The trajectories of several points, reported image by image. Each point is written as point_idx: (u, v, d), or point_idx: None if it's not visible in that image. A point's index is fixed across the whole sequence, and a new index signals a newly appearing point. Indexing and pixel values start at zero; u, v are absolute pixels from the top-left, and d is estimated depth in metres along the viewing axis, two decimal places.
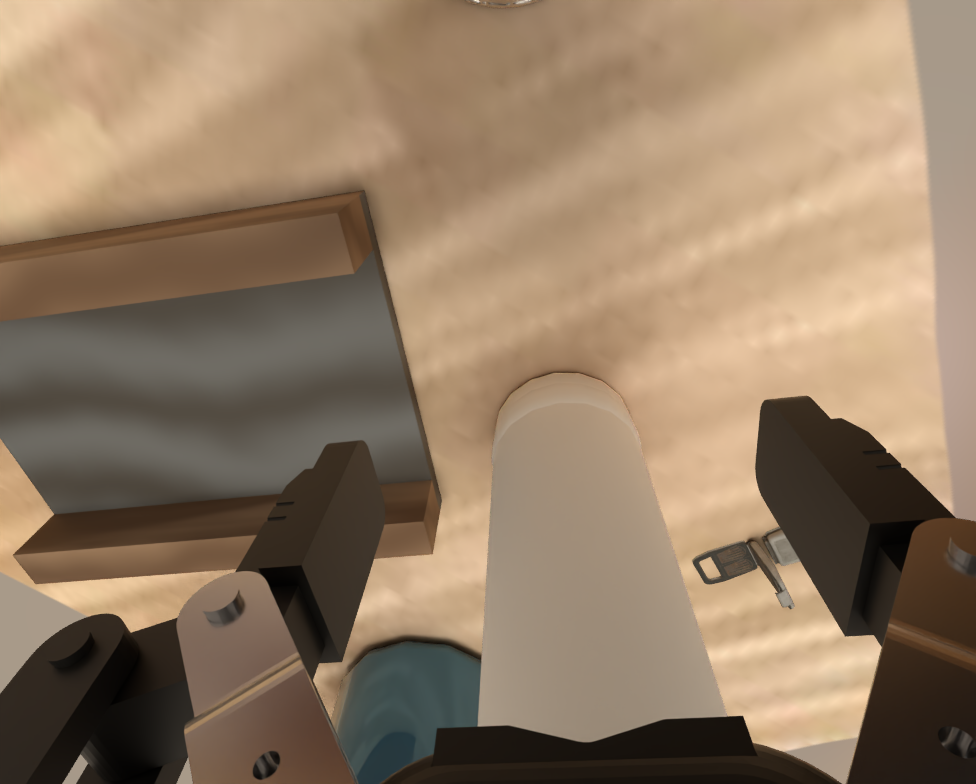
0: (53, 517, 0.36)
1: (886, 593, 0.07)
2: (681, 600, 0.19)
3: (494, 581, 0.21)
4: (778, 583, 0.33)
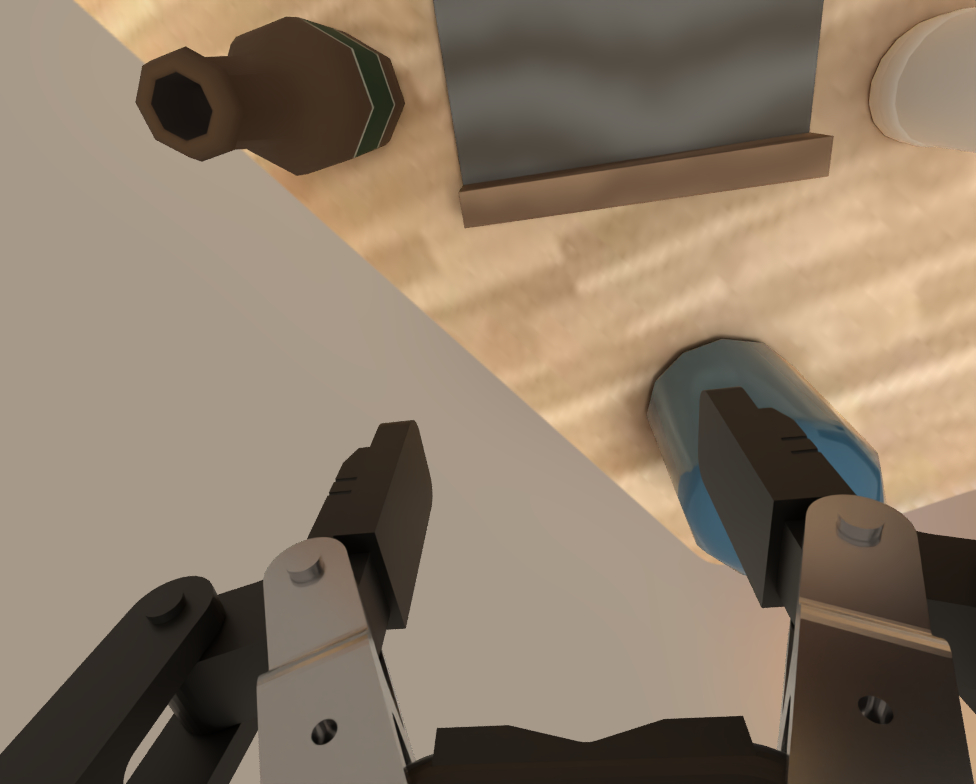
0: (465, 185, 0.42)
1: (790, 565, 0.08)
2: None
3: None
4: None
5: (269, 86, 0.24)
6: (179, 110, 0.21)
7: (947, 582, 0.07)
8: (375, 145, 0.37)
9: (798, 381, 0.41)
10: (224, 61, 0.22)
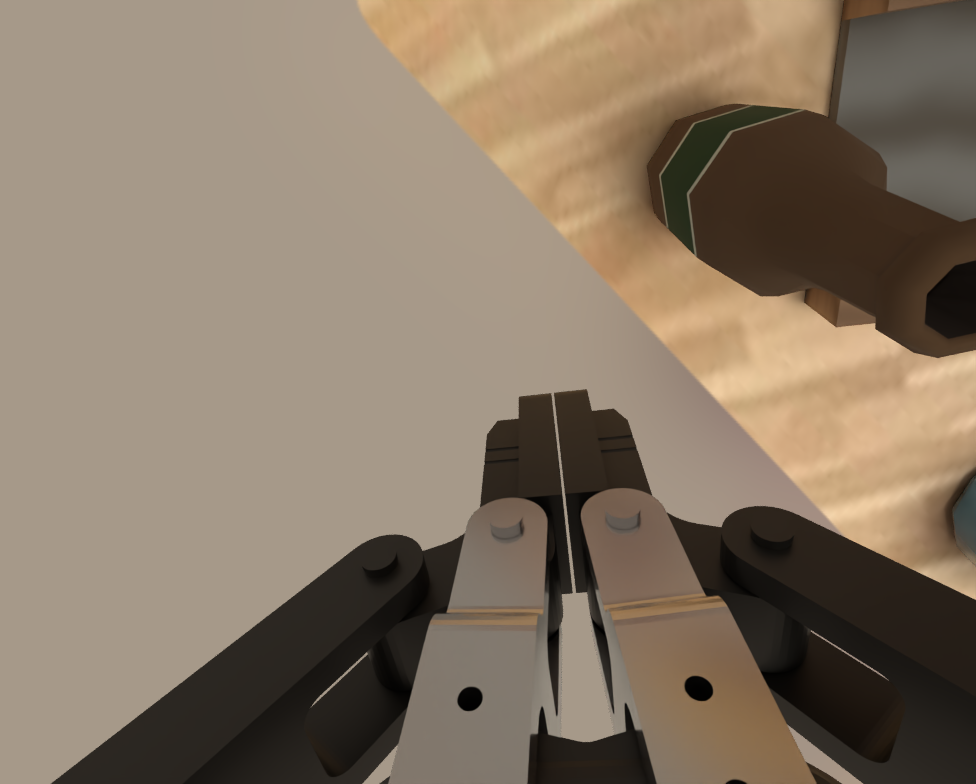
0: None
1: (582, 552, 0.09)
2: None
3: None
4: None
5: None
6: None
7: None
8: None
9: None
10: None
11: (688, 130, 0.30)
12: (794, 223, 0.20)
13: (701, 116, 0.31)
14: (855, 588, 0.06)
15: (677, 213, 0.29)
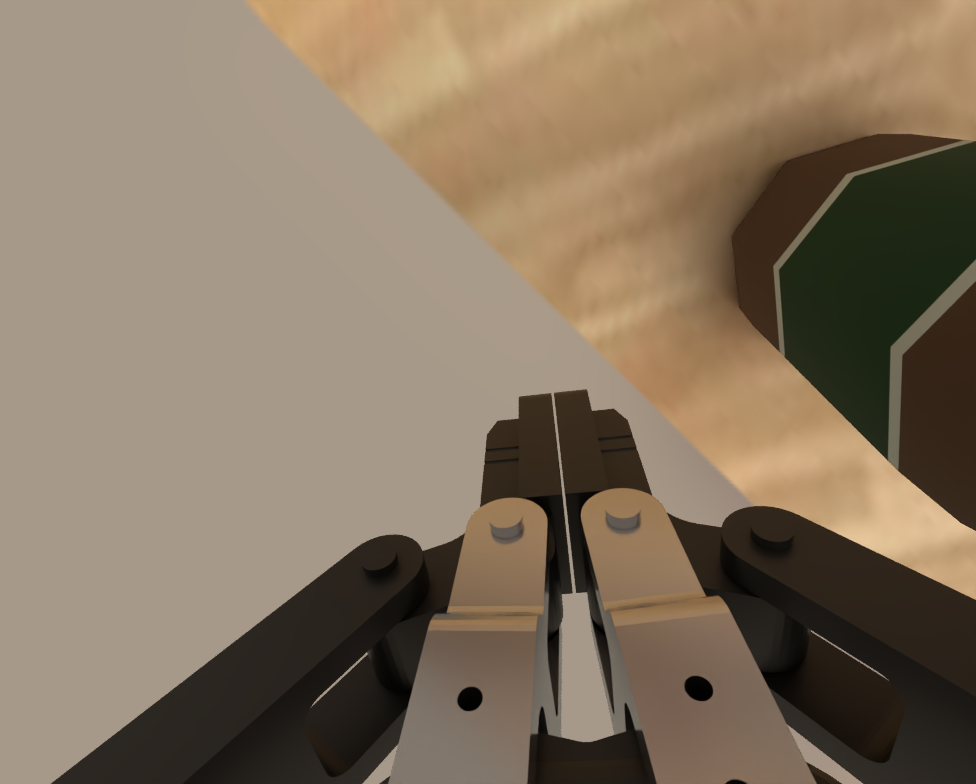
0: None
1: (582, 552, 0.09)
2: None
3: None
4: None
5: None
6: None
7: None
8: None
9: None
10: None
11: (837, 188, 0.16)
12: None
13: (850, 158, 0.17)
14: (855, 588, 0.06)
15: (830, 355, 0.15)
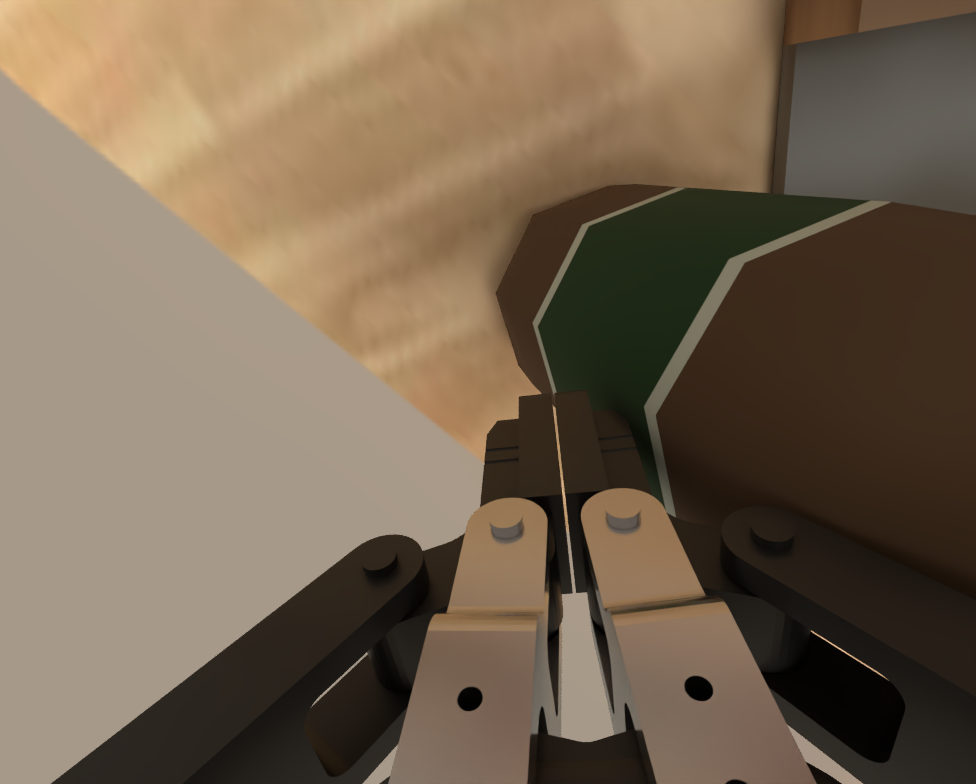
0: None
1: (582, 552, 0.09)
2: None
3: None
4: None
5: None
6: None
7: None
8: None
9: None
10: None
11: (576, 238, 0.15)
12: None
13: (586, 209, 0.17)
14: (855, 588, 0.06)
15: None
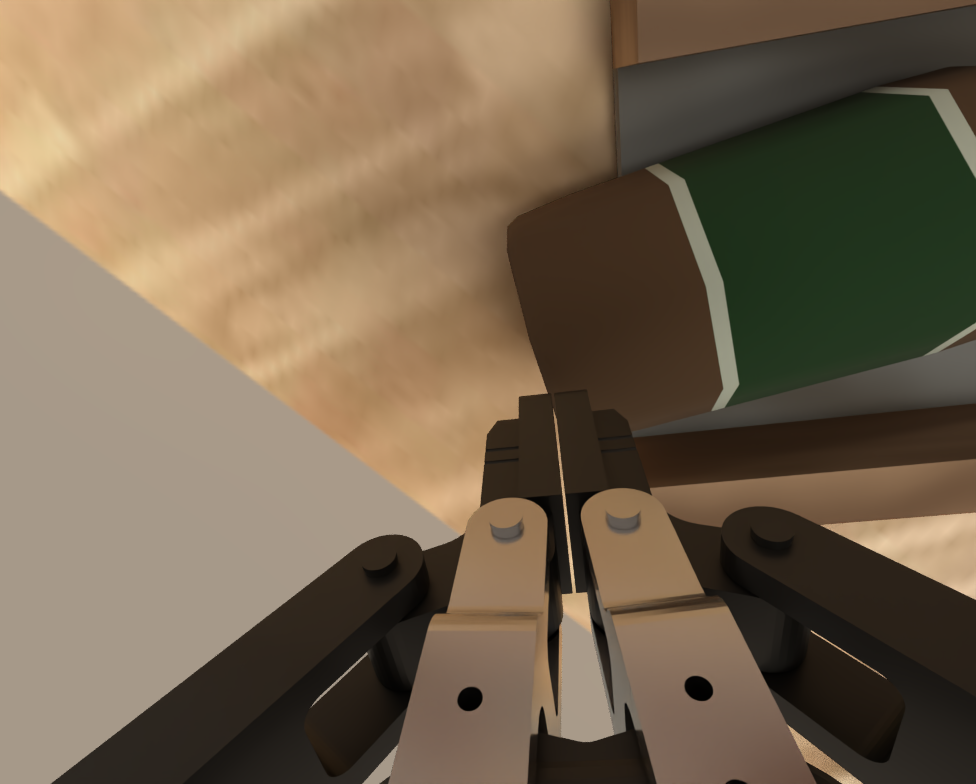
0: (637, 441, 0.24)
1: (582, 552, 0.09)
2: None
3: None
4: None
5: None
6: None
7: None
8: None
9: None
10: None
11: (676, 197, 0.14)
12: None
13: (605, 198, 0.15)
14: (855, 588, 0.06)
15: (860, 297, 0.13)
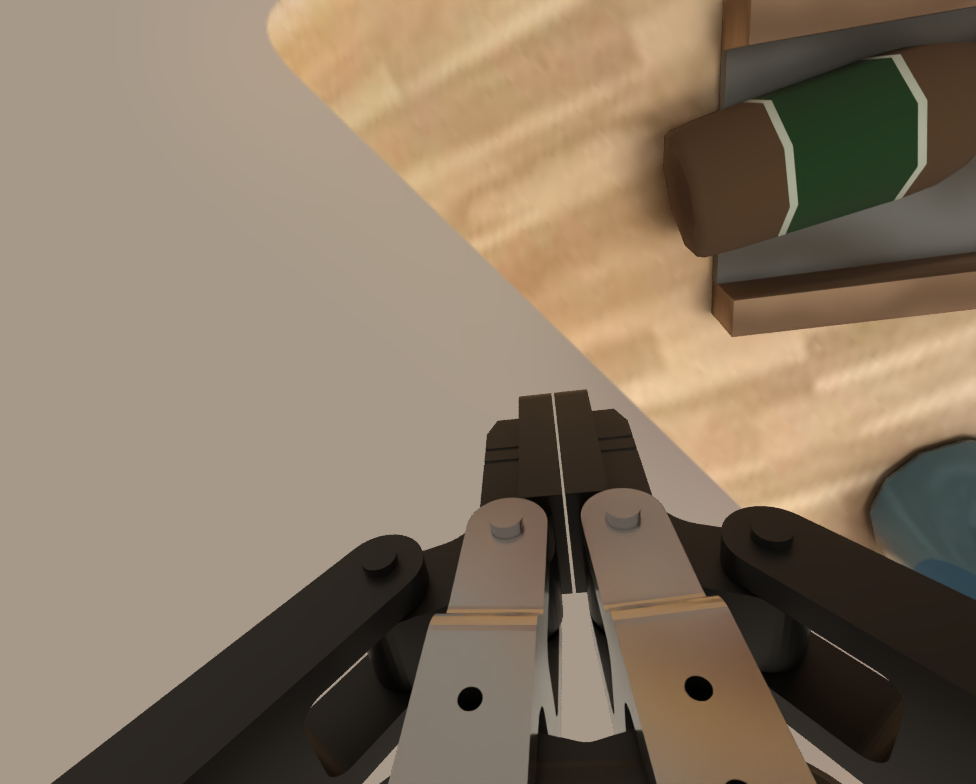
0: (721, 285, 0.38)
1: (582, 552, 0.09)
2: None
3: None
4: None
5: None
6: None
7: None
8: None
9: None
10: None
11: (767, 108, 0.29)
12: None
13: (727, 113, 0.30)
14: (855, 588, 0.06)
15: (859, 154, 0.28)
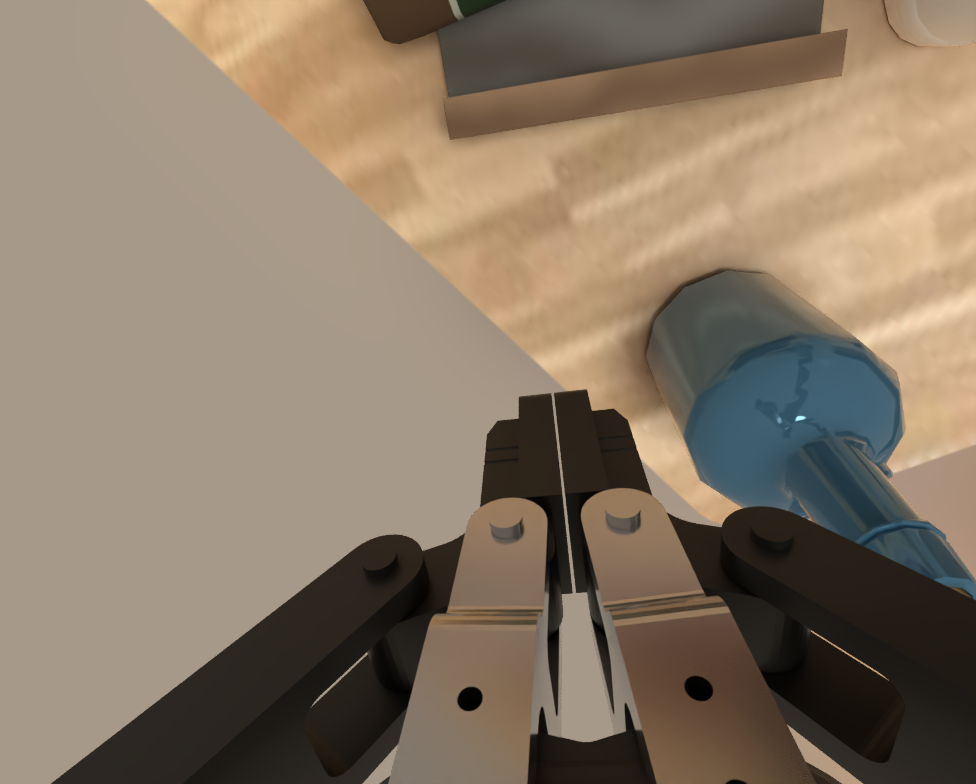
0: None
1: (582, 552, 0.09)
2: None
3: None
4: None
5: None
6: None
7: None
8: None
9: (808, 304, 0.38)
10: None
11: None
12: None
13: None
14: (855, 588, 0.06)
15: None
